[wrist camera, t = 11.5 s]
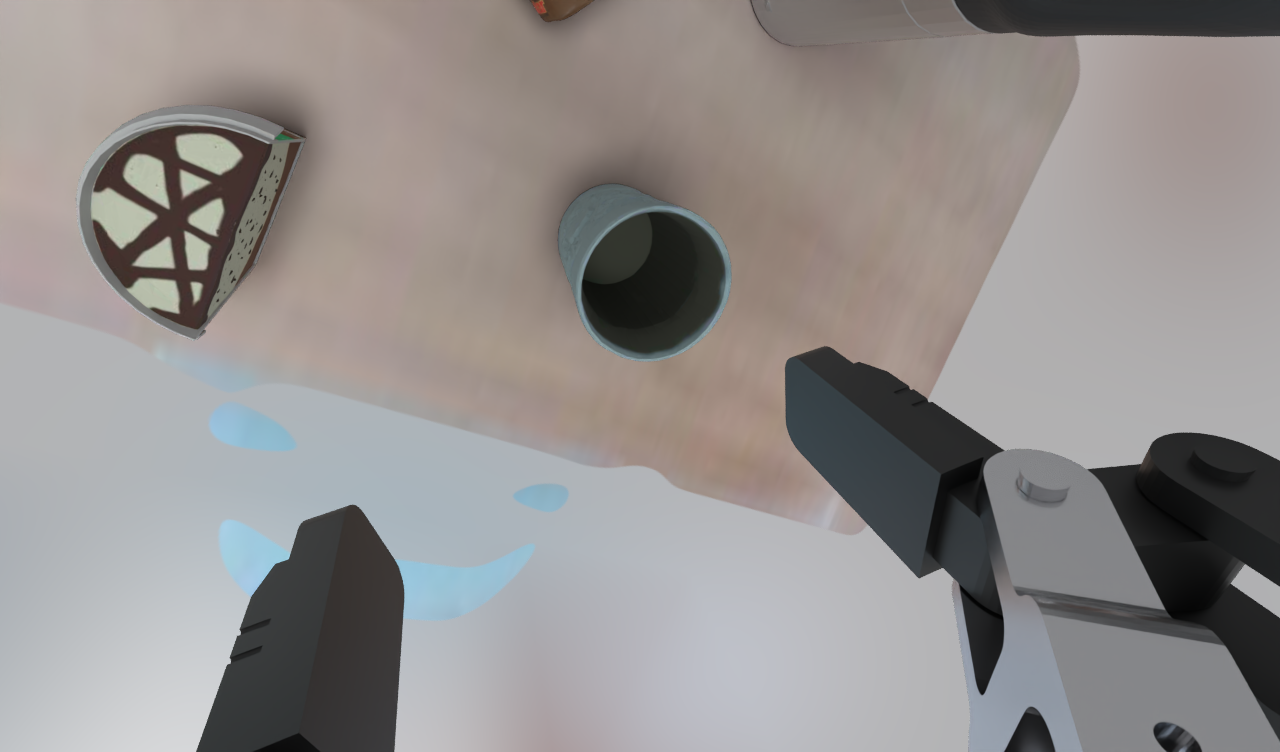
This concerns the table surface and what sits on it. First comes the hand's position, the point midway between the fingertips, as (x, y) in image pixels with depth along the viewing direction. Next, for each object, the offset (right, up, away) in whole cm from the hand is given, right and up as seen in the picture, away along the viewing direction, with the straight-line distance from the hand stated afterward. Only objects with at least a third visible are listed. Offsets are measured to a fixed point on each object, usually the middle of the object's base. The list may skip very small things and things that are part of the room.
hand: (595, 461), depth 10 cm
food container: (-25, +14, +23) cm, 37 cm away
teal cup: (-2, +13, +33) cm, 35 cm away
